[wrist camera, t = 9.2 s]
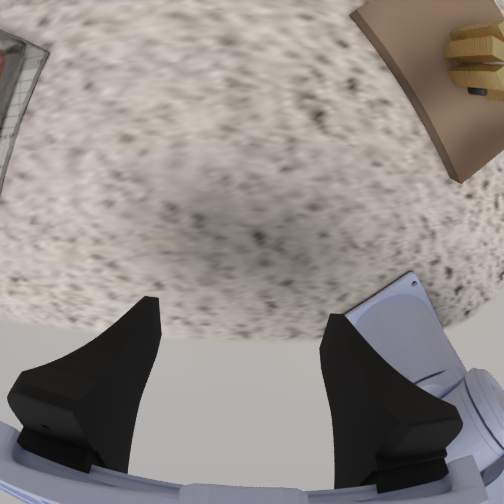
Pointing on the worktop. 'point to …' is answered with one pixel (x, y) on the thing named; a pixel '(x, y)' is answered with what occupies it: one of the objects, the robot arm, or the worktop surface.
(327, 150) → the worktop surface
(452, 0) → the post base
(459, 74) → the wooden block ring
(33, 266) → the worktop surface
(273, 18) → the worktop surface
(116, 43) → the worktop surface
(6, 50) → the packaged product
